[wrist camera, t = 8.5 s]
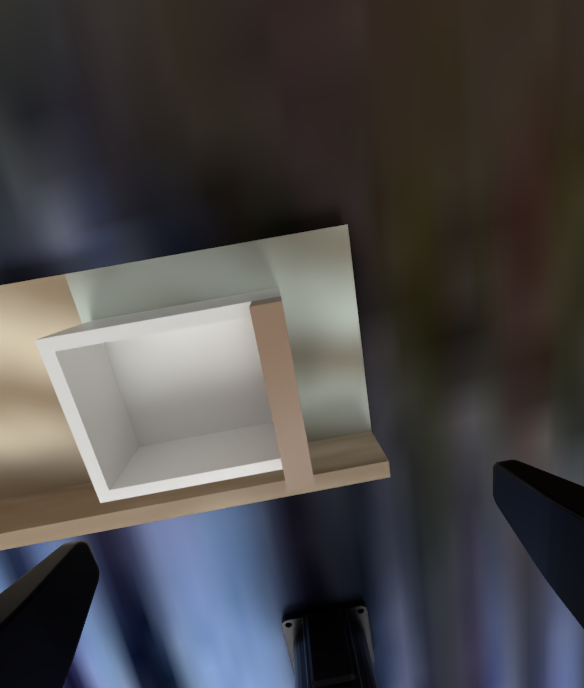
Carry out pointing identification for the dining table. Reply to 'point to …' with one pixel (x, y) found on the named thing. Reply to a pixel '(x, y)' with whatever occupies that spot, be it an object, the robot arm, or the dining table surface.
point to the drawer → (182, 395)
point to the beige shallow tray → (165, 291)
